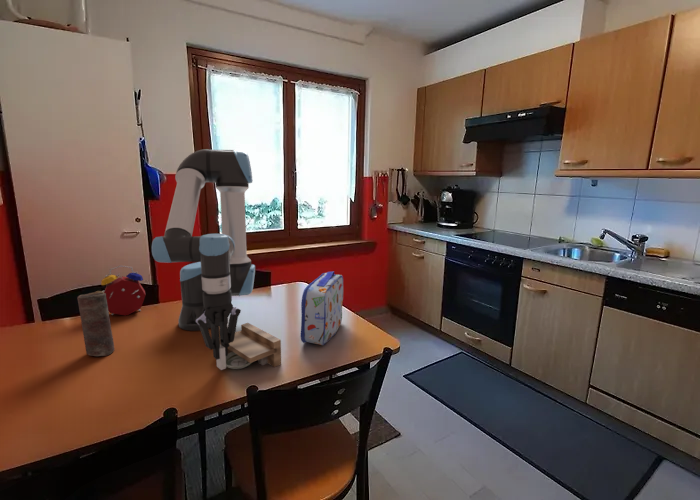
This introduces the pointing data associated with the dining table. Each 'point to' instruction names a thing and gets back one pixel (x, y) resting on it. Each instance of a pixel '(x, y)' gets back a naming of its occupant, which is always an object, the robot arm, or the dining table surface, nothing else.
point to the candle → (96, 324)
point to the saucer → (235, 361)
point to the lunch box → (321, 308)
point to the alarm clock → (124, 292)
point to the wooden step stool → (256, 346)
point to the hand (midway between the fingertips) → (221, 367)
